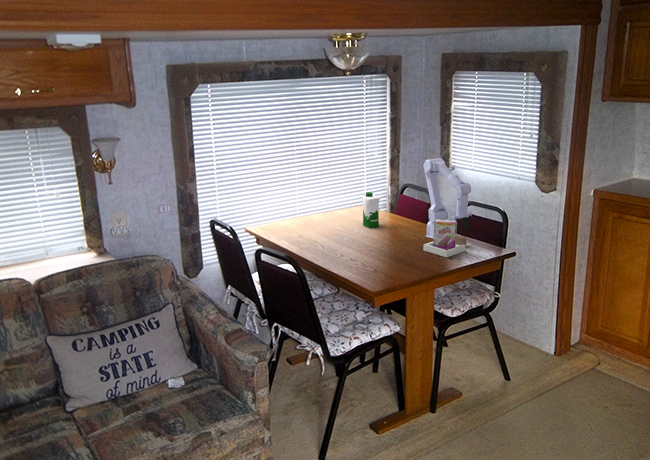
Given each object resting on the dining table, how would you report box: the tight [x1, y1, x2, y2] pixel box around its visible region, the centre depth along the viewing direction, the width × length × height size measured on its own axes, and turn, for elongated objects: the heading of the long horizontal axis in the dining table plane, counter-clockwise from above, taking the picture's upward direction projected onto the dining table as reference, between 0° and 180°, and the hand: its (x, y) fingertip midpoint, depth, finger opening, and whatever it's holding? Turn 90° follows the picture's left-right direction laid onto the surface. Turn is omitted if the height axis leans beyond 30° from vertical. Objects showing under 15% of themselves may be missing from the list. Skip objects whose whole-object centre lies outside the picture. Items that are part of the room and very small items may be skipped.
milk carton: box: [362, 191, 381, 229], centre depth 358 cm, size 9×9×20 cm
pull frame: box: [423, 234, 471, 258], centre depth 315 cm, size 15×25×5 cm, turn 130°
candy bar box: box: [433, 219, 457, 250], centre depth 311 cm, size 11×5×16 cm, turn 74°
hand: (460, 231), depth 319 cm, fingers open, 7 cm apart
